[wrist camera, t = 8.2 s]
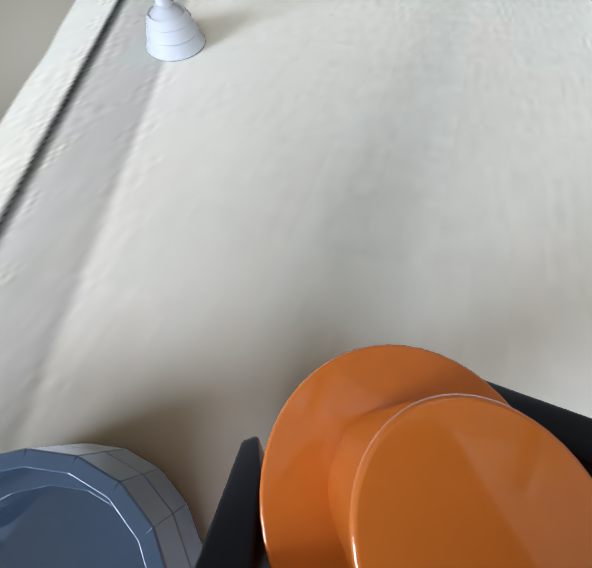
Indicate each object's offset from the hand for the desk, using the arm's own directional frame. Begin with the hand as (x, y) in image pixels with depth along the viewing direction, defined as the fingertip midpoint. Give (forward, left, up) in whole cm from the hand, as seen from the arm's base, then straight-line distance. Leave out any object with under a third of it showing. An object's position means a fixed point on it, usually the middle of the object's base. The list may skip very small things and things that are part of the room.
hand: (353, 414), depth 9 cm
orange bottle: (-1, +1, -7) cm, 7 cm away
